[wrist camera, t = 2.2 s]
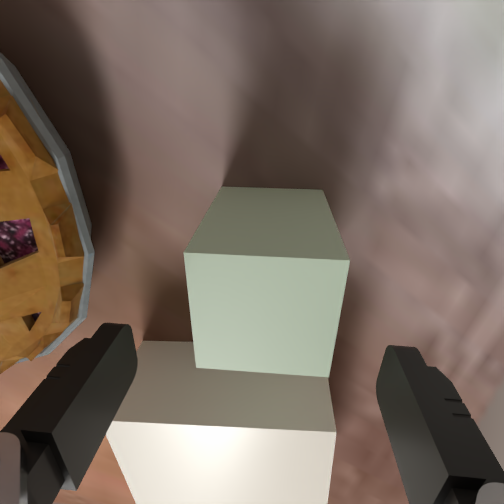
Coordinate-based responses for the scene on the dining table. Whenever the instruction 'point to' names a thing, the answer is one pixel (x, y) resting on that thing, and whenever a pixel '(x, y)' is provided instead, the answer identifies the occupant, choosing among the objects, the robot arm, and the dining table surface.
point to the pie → (38, 229)
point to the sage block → (266, 282)
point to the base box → (222, 433)
